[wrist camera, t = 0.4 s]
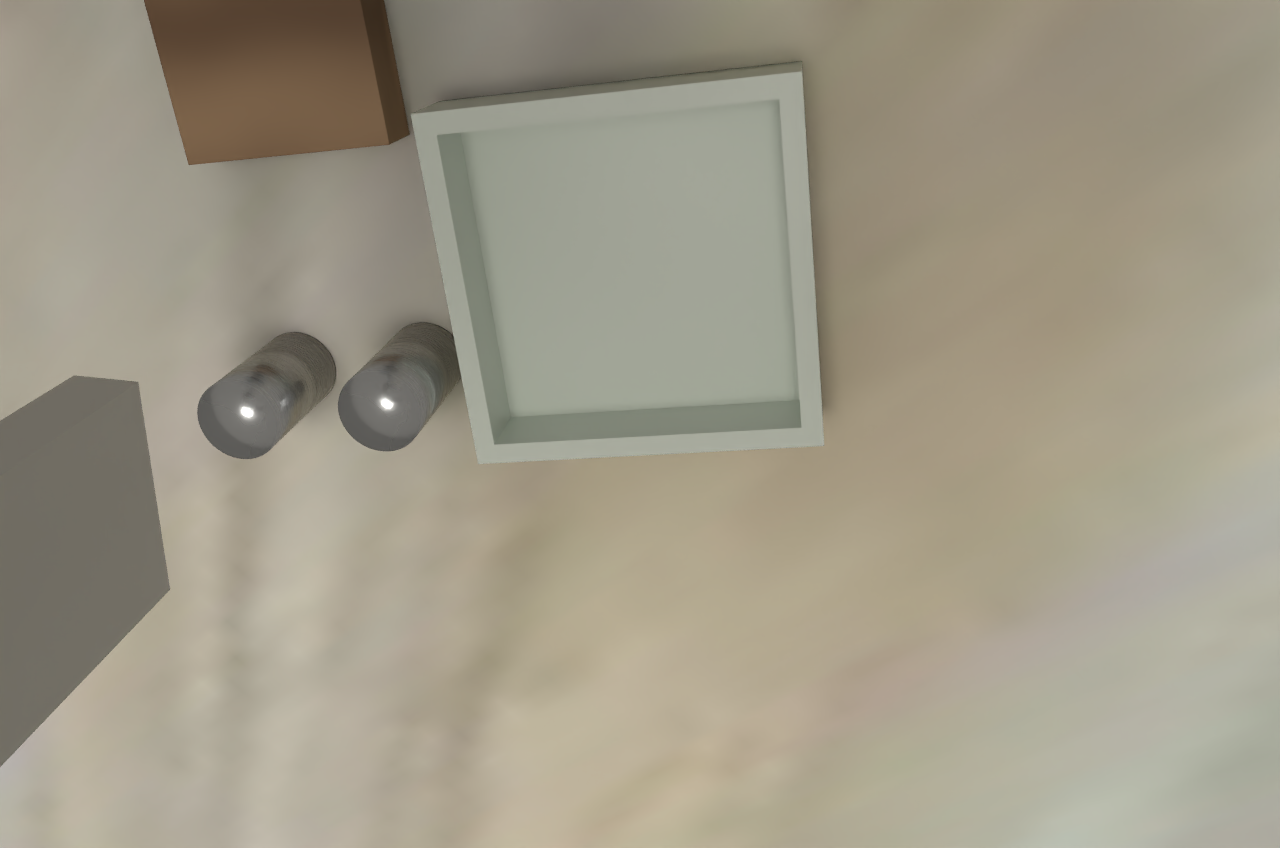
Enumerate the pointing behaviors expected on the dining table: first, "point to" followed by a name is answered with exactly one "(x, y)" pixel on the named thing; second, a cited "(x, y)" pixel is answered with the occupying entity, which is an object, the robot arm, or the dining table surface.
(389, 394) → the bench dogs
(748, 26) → the dining table surface
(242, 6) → the tan wooden board
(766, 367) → the tray
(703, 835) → the dining table surface
